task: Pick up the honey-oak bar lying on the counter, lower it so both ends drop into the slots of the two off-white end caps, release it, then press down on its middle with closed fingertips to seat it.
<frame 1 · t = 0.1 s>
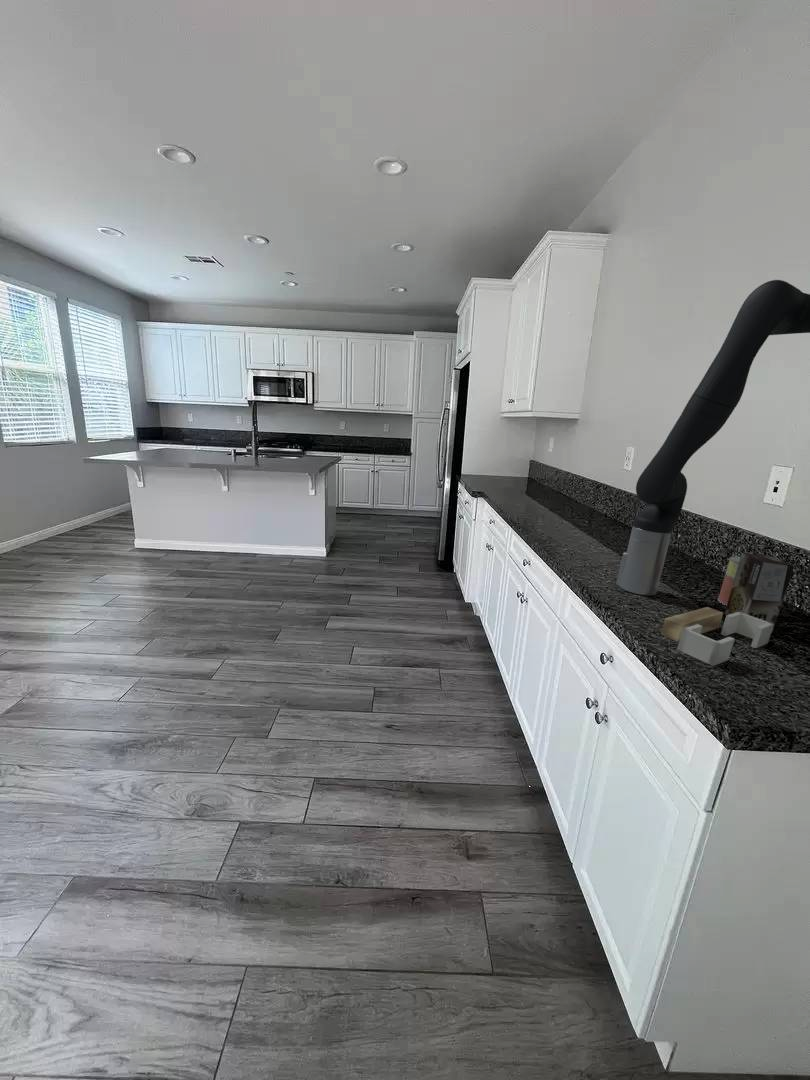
end cap A: (702, 654, 85), on the countertop
canned food: (742, 606, 116), on the countertop
end cap B: (743, 638, 94), on the countertop
coffee box: (747, 623, 104), on the countertop
oak bar: (690, 632, 96), on the countertop
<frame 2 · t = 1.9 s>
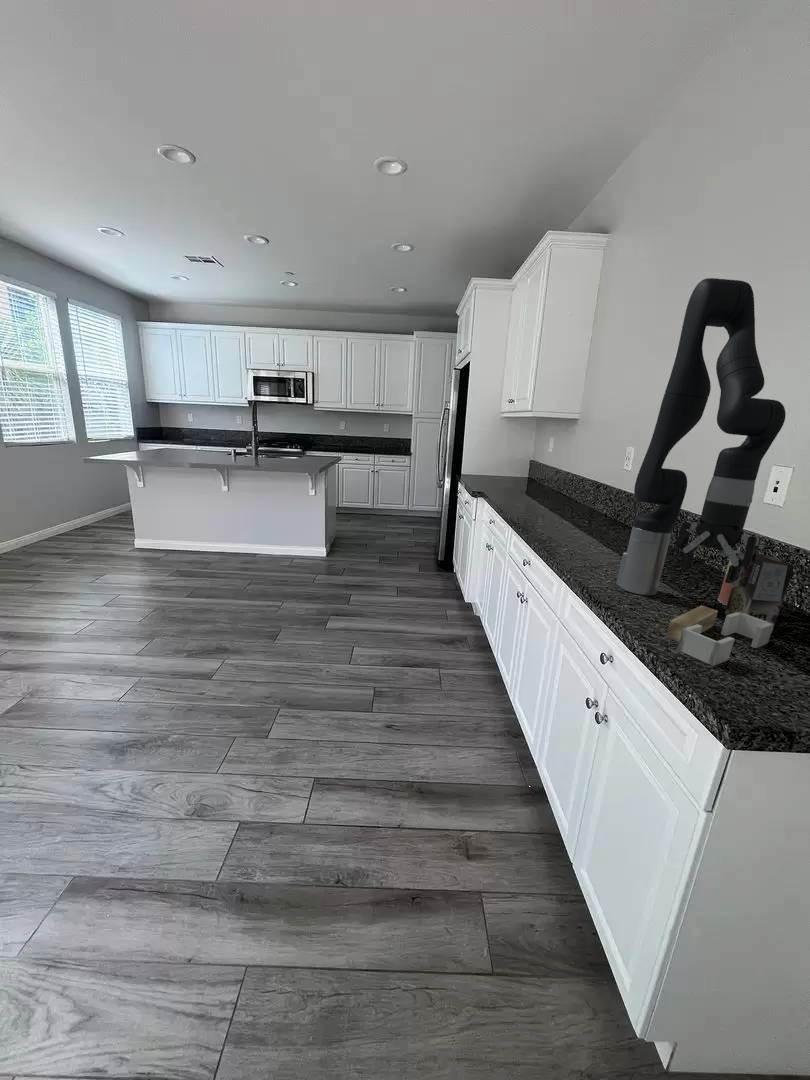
hand: (706, 576, 93), 13 cm above the countertop, tool pointing down, fingers open, 8 cm apart
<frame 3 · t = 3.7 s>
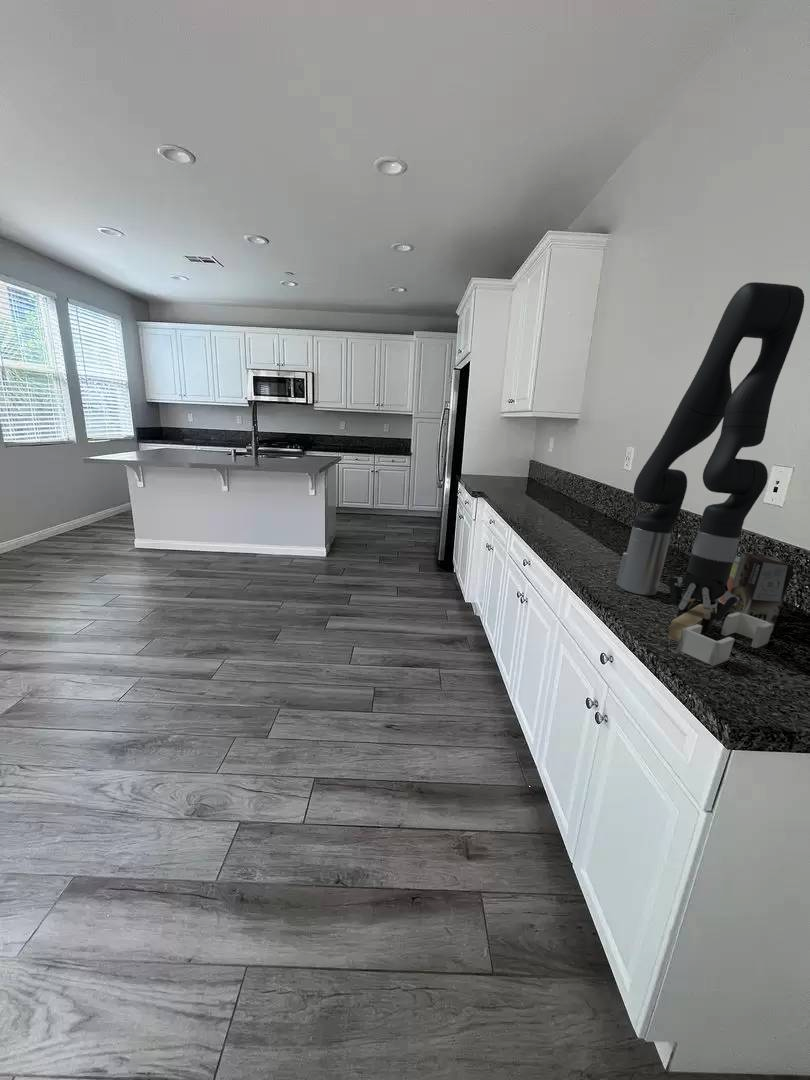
hand: (691, 629, 96), 0 cm above the countertop, tool pointing down, fingers closed on oak bar, 3 cm apart
oak bar: (691, 631, 96), on the countertop, touching gripper
everything else where it was.
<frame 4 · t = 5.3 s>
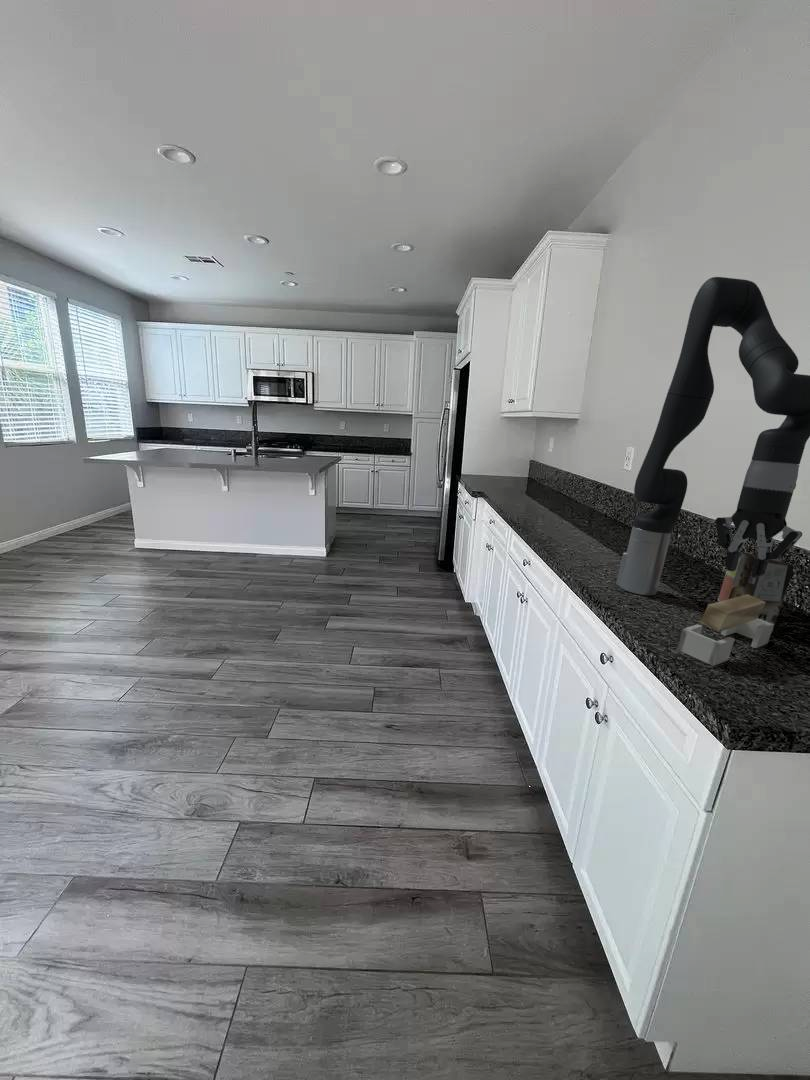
hand: (743, 573, 86), 16 cm above the countertop, tool pointing down, fingers open, 3 cm apart
oak bar: (729, 620, 88), point 6 cm above the countertop, tilted 7°
everything else where it was.
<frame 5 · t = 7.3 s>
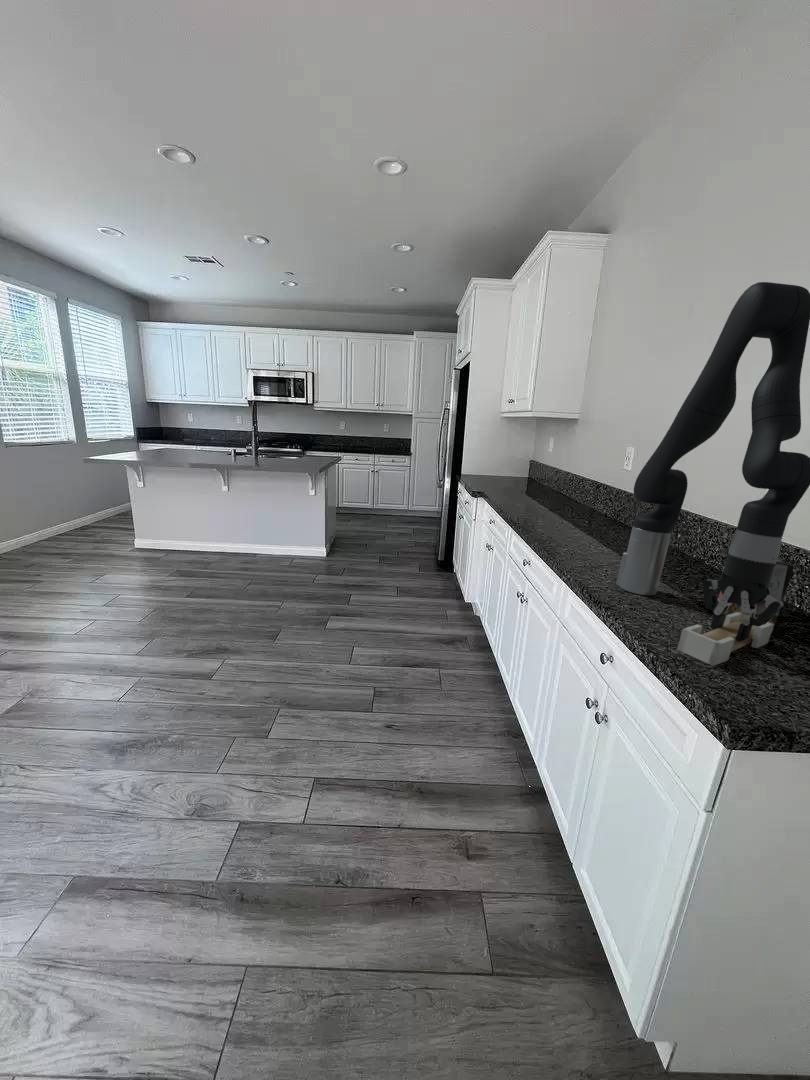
hand: (728, 635, 89), 2 cm above the countertop, tool pointing down, fingers closed on oak bar, 3 cm apart
oak bar: (722, 649, 89), on the countertop, touching gripper
everything else where it was.
when the fingers open (2 cm above the countertop, at t = 7.7 s): oak bar stays where it is, on the countertop.
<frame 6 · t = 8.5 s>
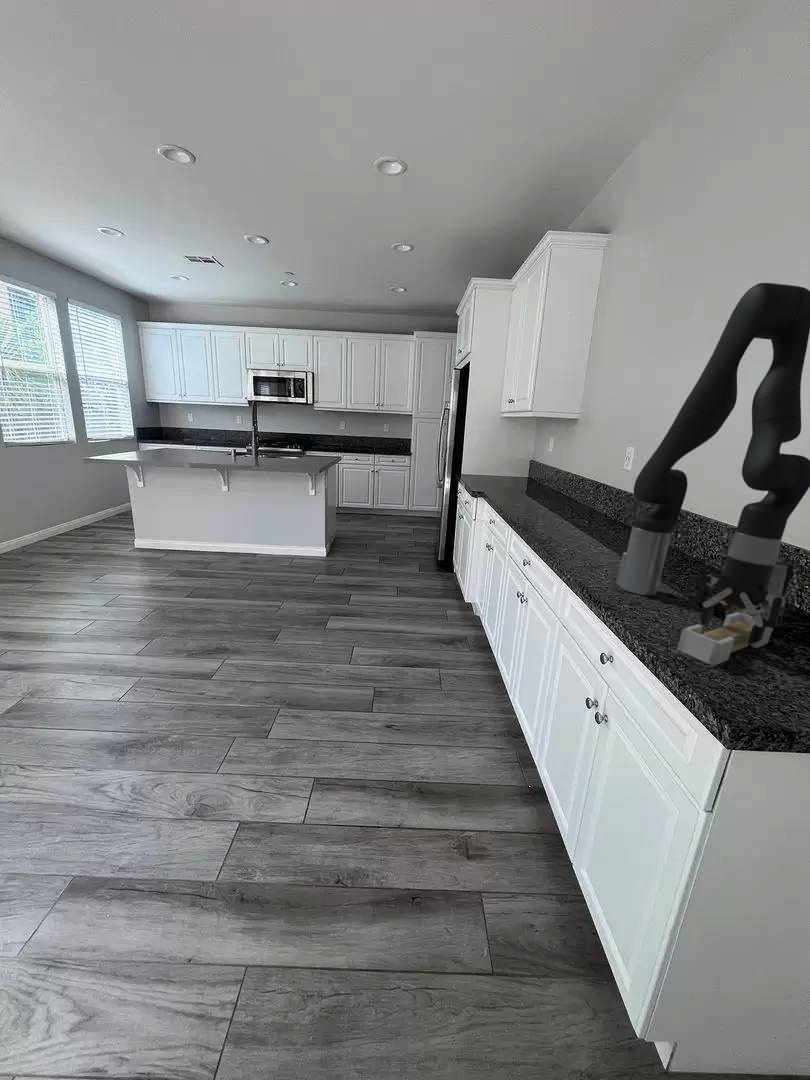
hand: (728, 633, 89), 3 cm above the countertop, tool pointing down, fingers open, 8 cm apart
oak bar: (723, 649, 89), on the countertop
everything else where it was.
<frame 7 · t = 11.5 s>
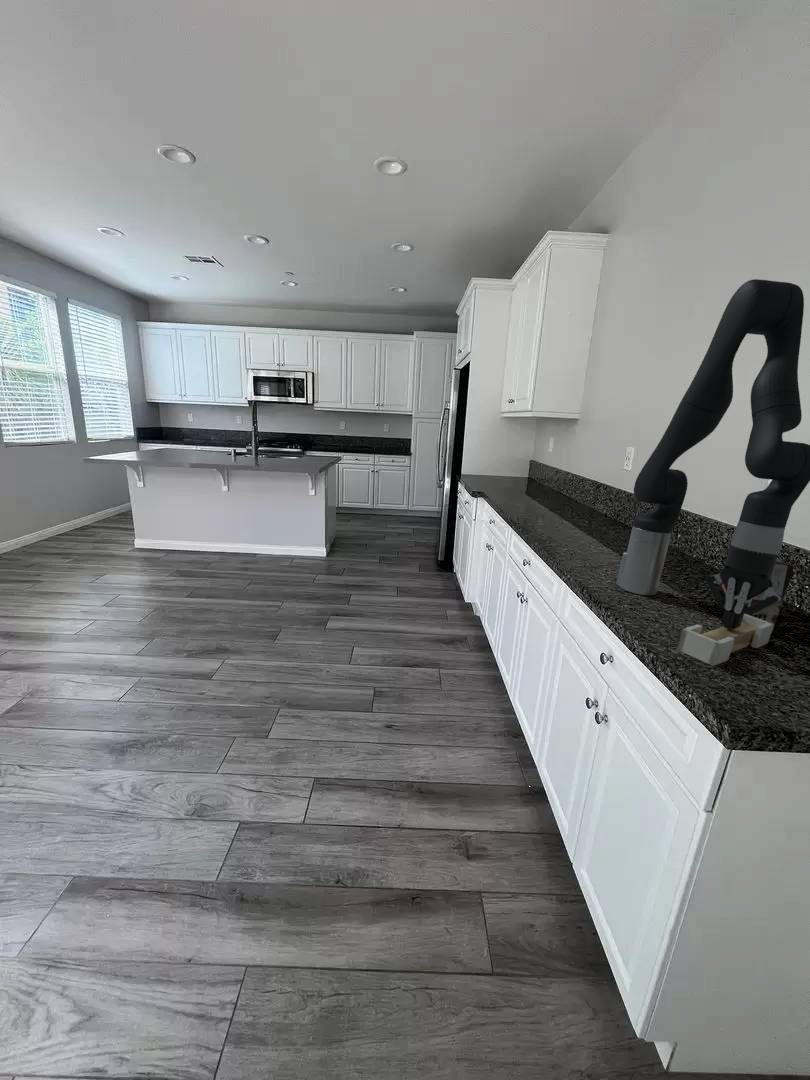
hand: (729, 628, 89), 4 cm above the countertop, tool pointing down, fingers closed
nothing on the countertop moved.
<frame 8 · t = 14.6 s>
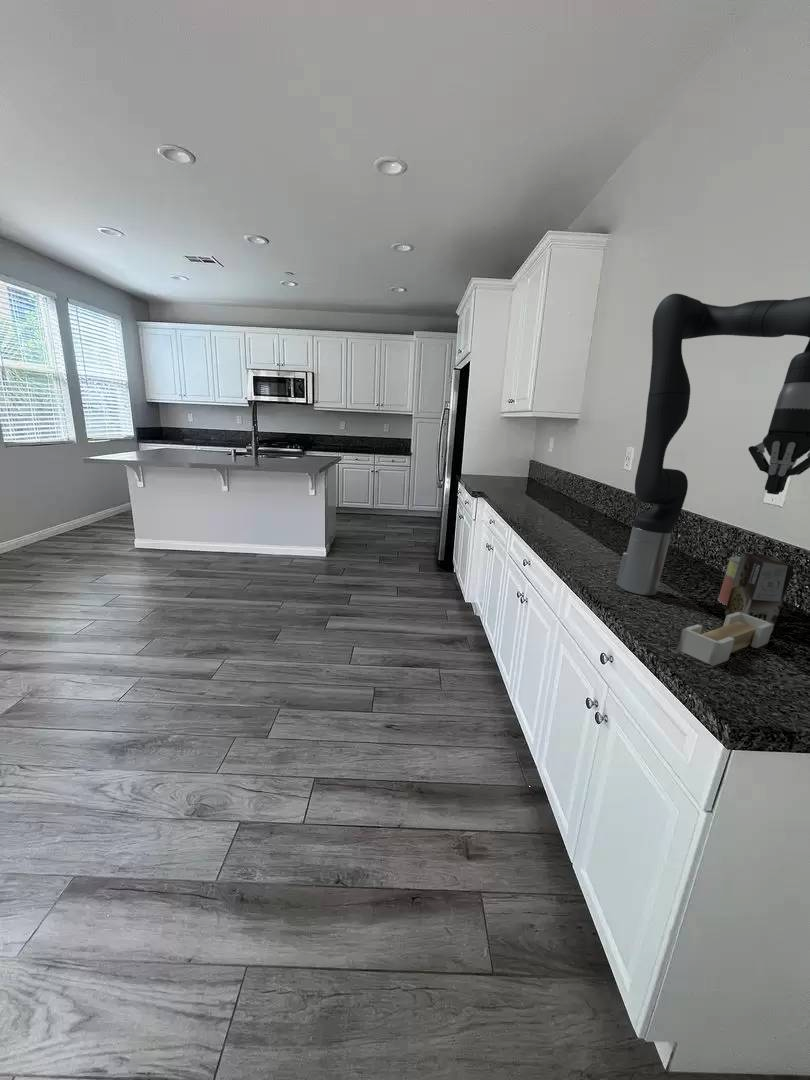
hand: (772, 493, 92), 31 cm above the countertop, tool pointing down, fingers closed
nothing on the countertop moved.
at the end: oak bar 1.1 cm from the target spot, on the countertop; oak bar tilted 0°; the gripper is holding nothing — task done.
